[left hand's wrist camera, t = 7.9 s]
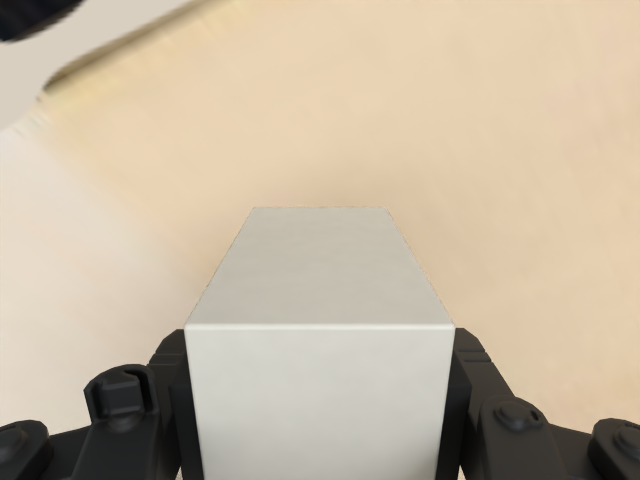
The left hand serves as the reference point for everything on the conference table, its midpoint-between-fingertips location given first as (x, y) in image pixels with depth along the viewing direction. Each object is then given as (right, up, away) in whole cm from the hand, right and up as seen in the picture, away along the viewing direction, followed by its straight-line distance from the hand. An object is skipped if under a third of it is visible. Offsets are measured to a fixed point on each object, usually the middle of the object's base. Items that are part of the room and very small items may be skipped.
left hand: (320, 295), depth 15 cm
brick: (0, 0, +1) cm, 1 cm away
